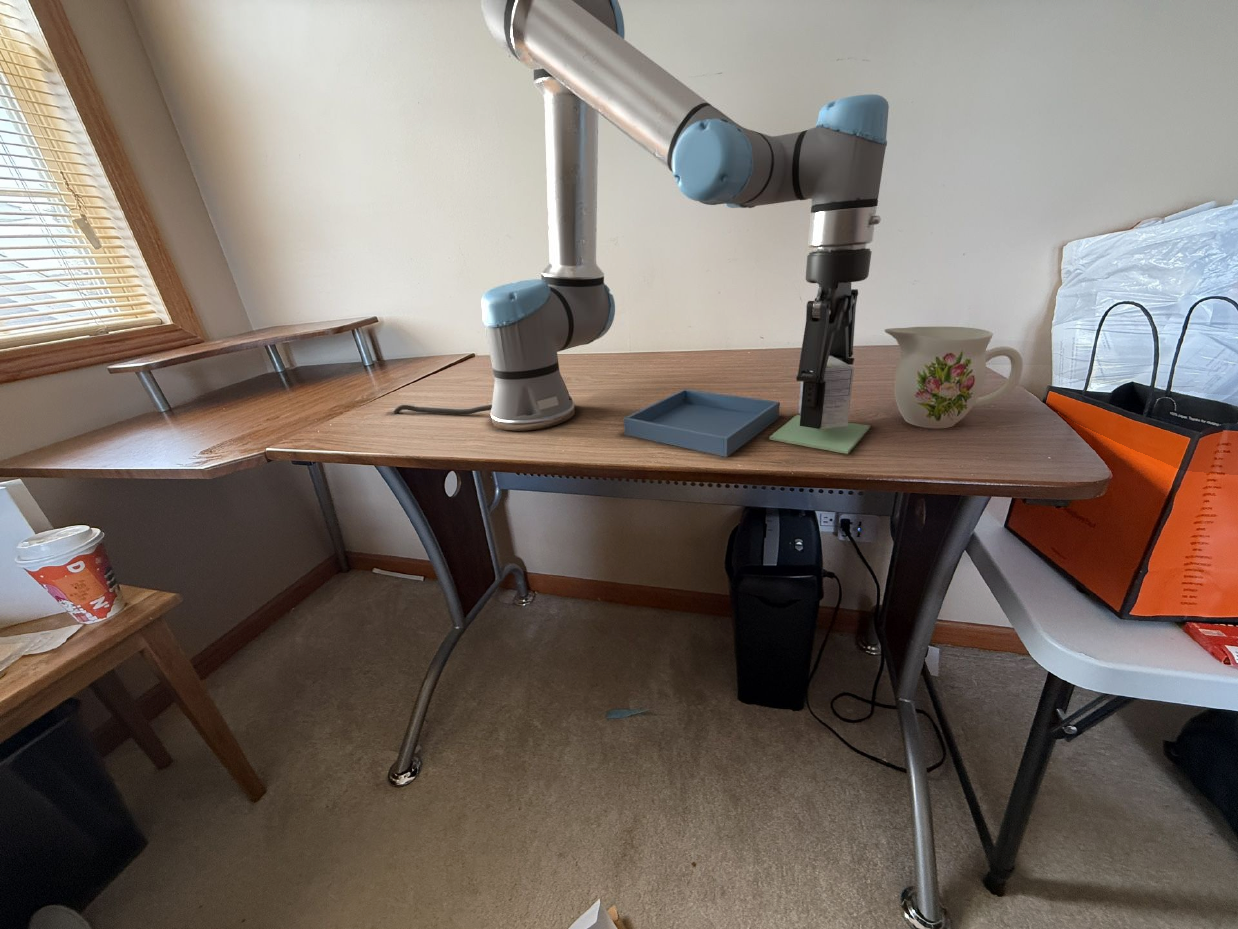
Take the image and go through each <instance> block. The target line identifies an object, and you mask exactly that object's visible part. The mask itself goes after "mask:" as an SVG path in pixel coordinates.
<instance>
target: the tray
mask: <svg viewBox="0 0 1238 929" xmlns="http://www.w3.org/2000/svg"><path fill="white" fill-rule="evenodd" d="M780 406H781V401H777V400H770V399H761V398H755V397H748V396H739V395H733V394H732V395H731V394H724V393H717V392H710V391H702V390H695V389H686V388H683V389H681V390H679V391H677V392H675V393H673V394H671V395H669V396H666V397H665V398H663V399H661V400H658V401H657V402H655V403H652V404H650V405H649V406H646V407H644V408H642V409H640V410H638V411H635V412H634V413H631V414H630V415H628V416H625V417H623V428H624V436H628V437H632V438H638V439H643V440H646V441H651V442H657V443H661V444H665V445H669V446H675V447H680V448H683V449H688V450H693V451H698V452H702V453H706V454H711V455H716V456H721V457H725V458H728V457H729V456H731V455H732V454H733V453H735V452H736V451H738V449H740V448H741V447H742V446H744V445H745V444H746V443H748V442H749V441H751V440H752V439H753V438H754V437H756V436H757V435H759V433H761V432H763V431H764V430H765V429H766V428H767V427H769V426H770V425H772V424H773V423H775V422H776V421H777V420H778V419H779V418H780Z"/></svg>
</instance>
